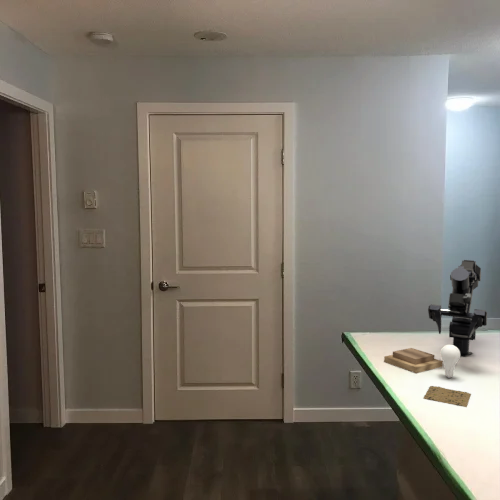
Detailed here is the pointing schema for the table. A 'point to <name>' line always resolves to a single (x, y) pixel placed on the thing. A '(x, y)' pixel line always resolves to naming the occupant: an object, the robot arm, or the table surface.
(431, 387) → the cookie
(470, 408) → the table surface
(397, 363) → the plinth
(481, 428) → the table surface
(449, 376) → the lightbulb
